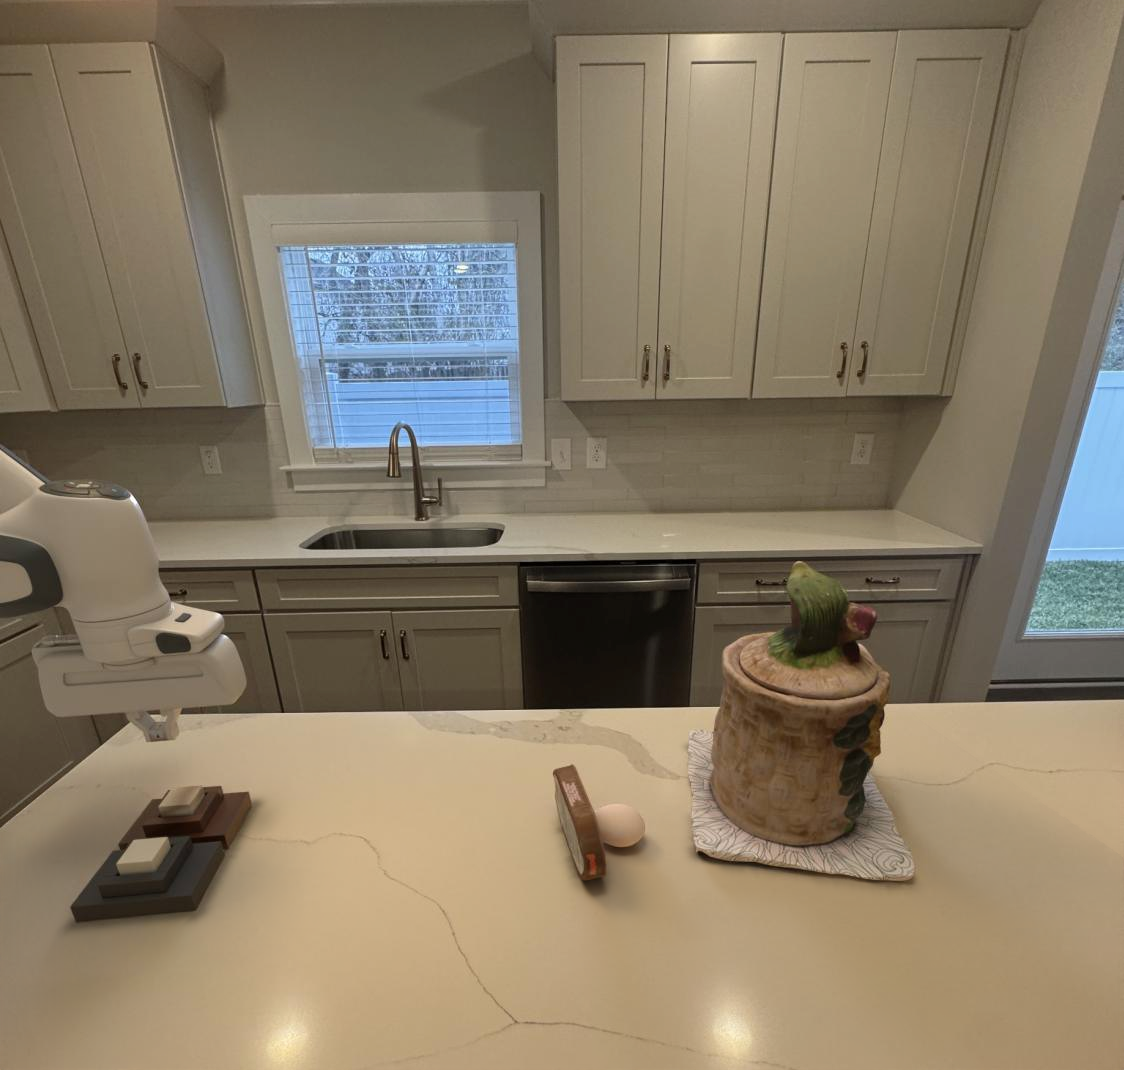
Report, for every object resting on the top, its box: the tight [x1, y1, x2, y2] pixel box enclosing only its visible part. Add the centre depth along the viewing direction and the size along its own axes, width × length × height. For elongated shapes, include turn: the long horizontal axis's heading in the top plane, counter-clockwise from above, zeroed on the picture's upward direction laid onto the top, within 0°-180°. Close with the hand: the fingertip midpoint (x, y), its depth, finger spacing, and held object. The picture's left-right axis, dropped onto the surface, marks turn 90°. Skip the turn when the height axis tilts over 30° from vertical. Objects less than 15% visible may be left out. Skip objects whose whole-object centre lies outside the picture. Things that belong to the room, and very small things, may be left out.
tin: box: [552, 763, 607, 881], centre depth 72 cm, size 15×3×8 cm, turn 13°
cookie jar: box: [686, 560, 916, 882], centre depth 74 cm, size 25×25×32 cm
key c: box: [116, 837, 171, 876], centre depth 67 cm, size 4×4×2 cm
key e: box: [158, 785, 205, 817], centre depth 75 cm, size 4×4×2 cm
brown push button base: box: [117, 785, 253, 850], centre depth 76 cm, size 12×8×4 cm, turn 96°
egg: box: [594, 803, 646, 848], centre depth 74 cm, size 5×5×7 cm
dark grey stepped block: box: [69, 836, 226, 923], centre depth 68 cm, size 12×8×4 cm, turn 96°
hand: (163, 738), depth 72 cm, fingers closed
